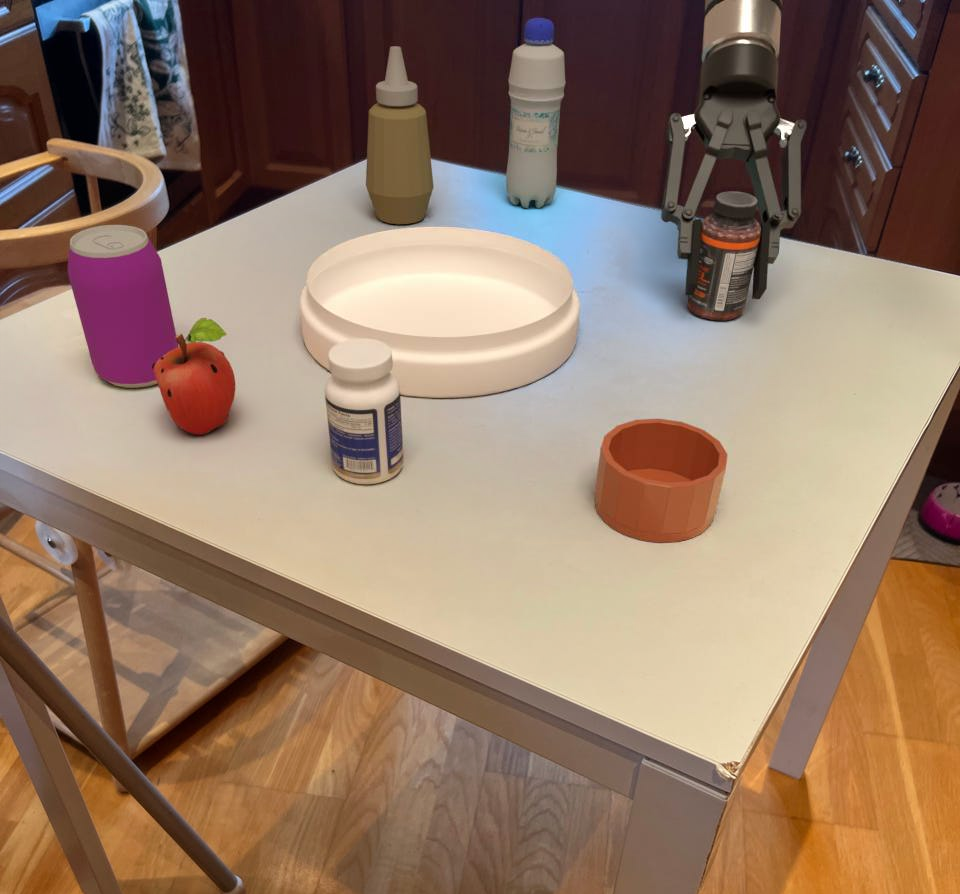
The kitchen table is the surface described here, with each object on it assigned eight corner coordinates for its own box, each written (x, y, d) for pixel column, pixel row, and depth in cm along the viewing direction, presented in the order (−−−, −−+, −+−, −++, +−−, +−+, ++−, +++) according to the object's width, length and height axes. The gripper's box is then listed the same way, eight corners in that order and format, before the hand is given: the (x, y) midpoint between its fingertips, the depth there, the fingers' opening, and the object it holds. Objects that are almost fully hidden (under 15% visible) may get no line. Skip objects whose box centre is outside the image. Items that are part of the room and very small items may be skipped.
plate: (470, 256, 110) (471, 206, 106) (633, 349, 94) (641, 294, 90) (254, 313, 98) (246, 259, 94) (400, 430, 82) (398, 371, 78)
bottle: (497, 207, 121) (503, 21, 107) (511, 190, 126) (519, 9, 112) (549, 214, 120) (562, 26, 106) (561, 196, 124) (576, 14, 111)
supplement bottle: (675, 302, 102) (694, 190, 94) (724, 295, 104) (746, 184, 96) (704, 326, 98) (726, 211, 90) (754, 318, 100) (780, 204, 92)
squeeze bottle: (443, 225, 116) (442, 54, 104) (378, 232, 114) (370, 58, 102) (421, 202, 122) (418, 37, 109) (359, 209, 119) (349, 41, 107)
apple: (146, 442, 80) (118, 327, 73) (180, 401, 85) (156, 290, 78) (235, 453, 79) (215, 337, 72) (264, 411, 84) (248, 299, 77)
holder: (718, 483, 78) (730, 428, 74) (709, 551, 71) (722, 495, 68) (604, 465, 79) (611, 411, 76) (585, 531, 72) (592, 474, 69)
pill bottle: (378, 440, 81) (372, 327, 74) (417, 471, 78) (414, 356, 71) (318, 462, 78) (306, 347, 71) (356, 495, 75) (347, 378, 68)
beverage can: (199, 373, 88) (174, 240, 80) (123, 401, 84) (88, 264, 76) (155, 344, 92) (126, 214, 84) (80, 369, 88) (42, 236, 80)
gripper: (823, 90, 100) (810, 311, 99) (639, 81, 101) (625, 301, 100) (848, 43, 92) (834, 281, 92) (649, 34, 93) (634, 271, 92)
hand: (725, 291), depth 96 cm, fingers closed on supplement bottle, 6 cm apart
